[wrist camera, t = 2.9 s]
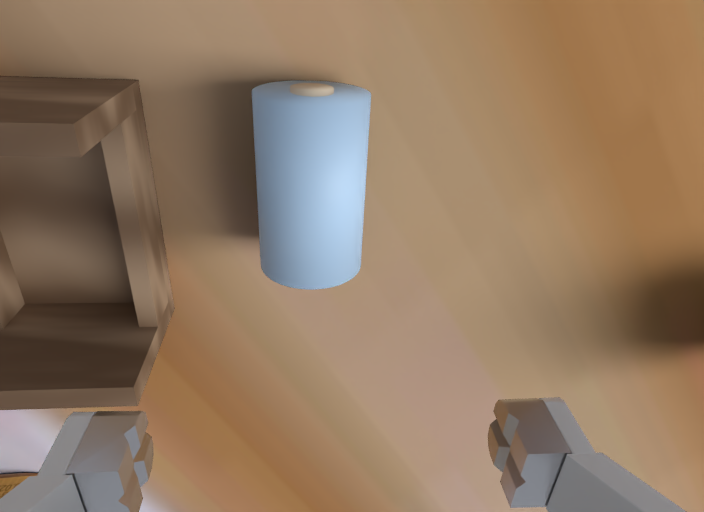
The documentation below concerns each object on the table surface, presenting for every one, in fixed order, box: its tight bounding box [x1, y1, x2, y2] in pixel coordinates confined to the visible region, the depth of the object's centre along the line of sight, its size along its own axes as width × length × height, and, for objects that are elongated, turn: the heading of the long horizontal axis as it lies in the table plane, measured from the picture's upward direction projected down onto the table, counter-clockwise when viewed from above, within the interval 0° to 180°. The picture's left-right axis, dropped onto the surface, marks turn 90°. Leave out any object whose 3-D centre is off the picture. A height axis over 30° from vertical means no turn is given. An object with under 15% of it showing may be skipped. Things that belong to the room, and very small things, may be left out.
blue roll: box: [252, 80, 371, 289], centre depth 25 cm, size 9×5×5 cm, turn 177°
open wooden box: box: [0, 76, 175, 410], centre depth 24 cm, size 14×9×8 cm, turn 177°
